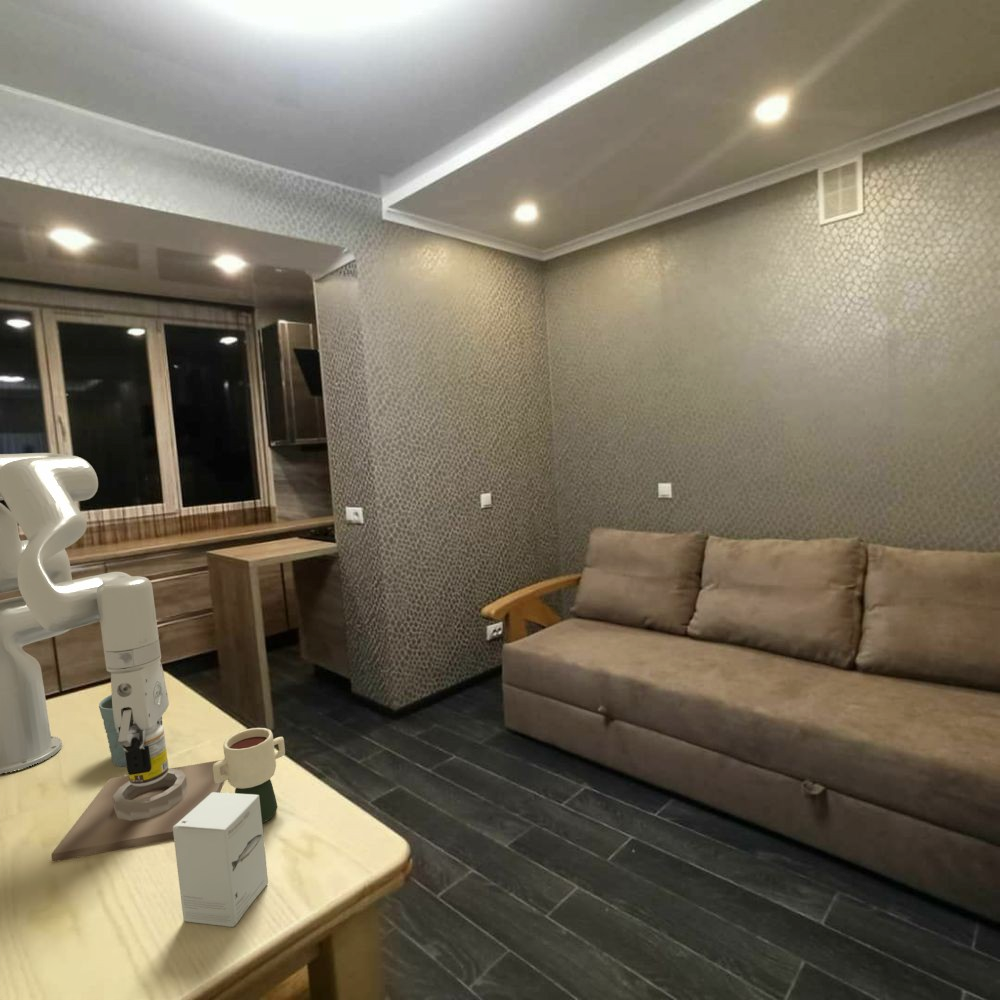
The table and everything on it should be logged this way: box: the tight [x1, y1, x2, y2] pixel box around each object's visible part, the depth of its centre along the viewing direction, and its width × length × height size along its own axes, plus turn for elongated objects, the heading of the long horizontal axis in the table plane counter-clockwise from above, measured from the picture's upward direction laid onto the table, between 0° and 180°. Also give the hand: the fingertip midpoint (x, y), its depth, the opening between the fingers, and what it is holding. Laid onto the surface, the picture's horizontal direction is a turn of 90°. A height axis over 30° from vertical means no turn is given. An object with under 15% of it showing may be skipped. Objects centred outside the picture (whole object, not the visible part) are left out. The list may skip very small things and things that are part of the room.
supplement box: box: [173, 792, 269, 928], centre depth 74 cm, size 7×7×13 cm
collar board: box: [50, 759, 226, 862], centre depth 96 cm, size 20×20×4 cm
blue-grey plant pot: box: [98, 694, 163, 768], centre depth 113 cm, size 10×10×12 cm
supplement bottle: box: [128, 723, 169, 786], centre depth 95 cm, size 6×6×10 cm
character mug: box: [213, 727, 286, 824], centre depth 91 cm, size 11×7×13 cm, turn 134°
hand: (147, 761), depth 96 cm, fingers closed on supplement bottle, 5 cm apart
